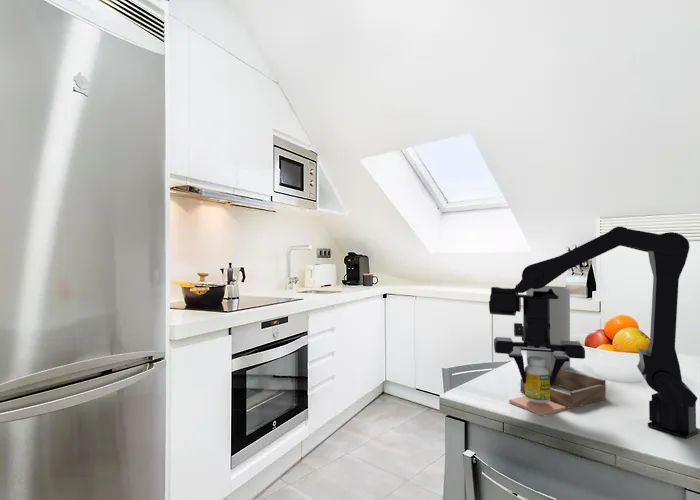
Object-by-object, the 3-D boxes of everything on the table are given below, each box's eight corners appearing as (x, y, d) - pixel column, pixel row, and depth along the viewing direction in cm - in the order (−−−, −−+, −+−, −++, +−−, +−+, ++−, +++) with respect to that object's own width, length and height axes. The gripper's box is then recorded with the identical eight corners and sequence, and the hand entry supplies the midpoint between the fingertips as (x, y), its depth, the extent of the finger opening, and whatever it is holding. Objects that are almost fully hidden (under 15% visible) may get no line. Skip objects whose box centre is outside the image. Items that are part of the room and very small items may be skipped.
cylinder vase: (537, 358, 134) (537, 285, 135) (576, 366, 125) (576, 287, 125) (519, 364, 126) (518, 287, 127) (560, 373, 117) (559, 289, 117)
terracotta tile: (566, 409, 89) (566, 406, 89) (543, 416, 85) (543, 413, 85) (531, 396, 97) (531, 394, 97) (509, 402, 93) (509, 399, 93)
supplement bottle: (533, 393, 95) (532, 354, 95) (555, 400, 91) (554, 358, 91) (520, 398, 92) (519, 357, 92) (542, 405, 88) (541, 362, 88)
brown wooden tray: (605, 398, 96) (605, 380, 96) (571, 408, 90) (571, 389, 90) (554, 382, 108) (554, 366, 108) (520, 390, 102) (520, 373, 102)
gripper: (572, 314, 97) (573, 377, 96) (492, 311, 102) (493, 371, 102) (585, 321, 86) (586, 392, 86) (494, 317, 91) (495, 384, 91)
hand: (537, 384), depth 91 cm, fingers closed on supplement bottle, 5 cm apart
